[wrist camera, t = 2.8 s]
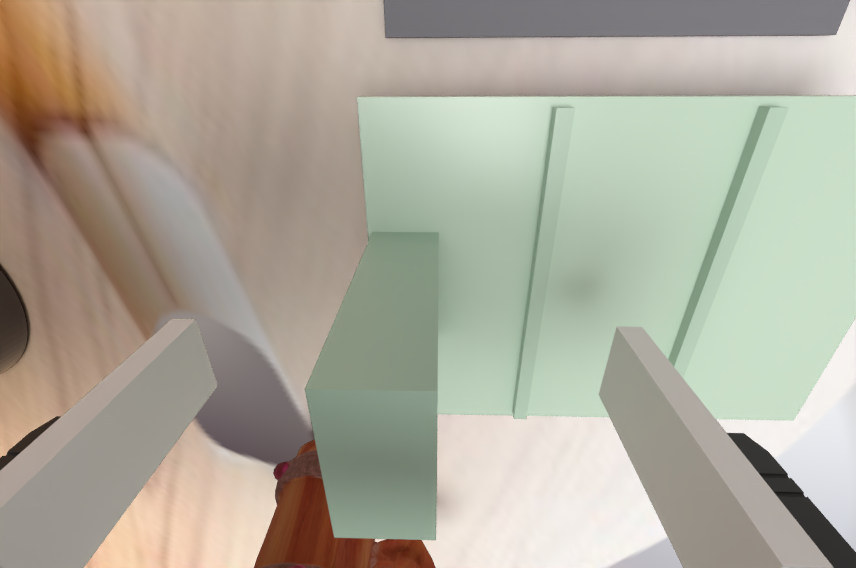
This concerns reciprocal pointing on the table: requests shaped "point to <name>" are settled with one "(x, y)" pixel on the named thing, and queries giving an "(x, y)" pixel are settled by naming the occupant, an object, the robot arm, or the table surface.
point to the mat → (611, 18)
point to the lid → (576, 270)
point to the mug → (323, 527)
